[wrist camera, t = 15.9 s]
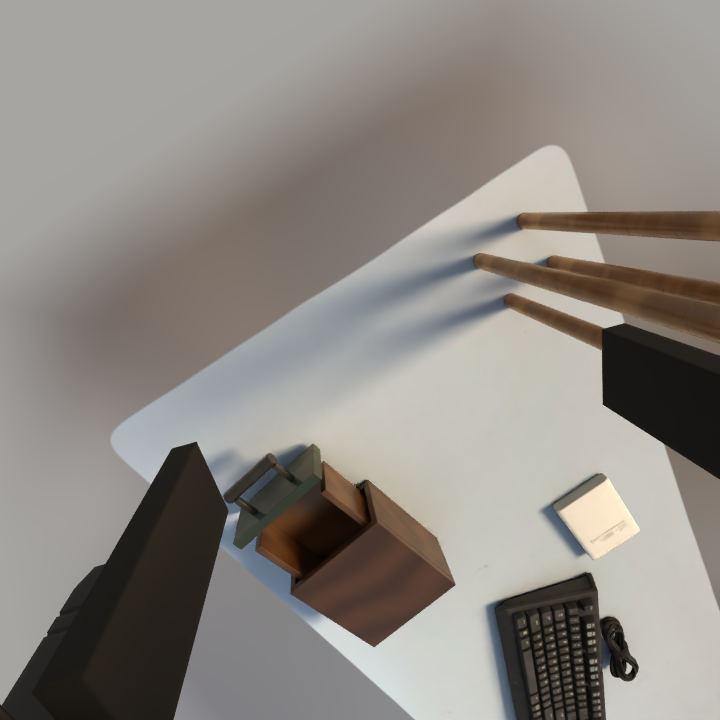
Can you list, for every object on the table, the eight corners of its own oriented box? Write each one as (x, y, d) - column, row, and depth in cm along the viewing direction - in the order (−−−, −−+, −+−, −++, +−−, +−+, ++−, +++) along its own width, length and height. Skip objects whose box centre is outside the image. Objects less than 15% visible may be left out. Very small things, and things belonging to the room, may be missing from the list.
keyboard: (491, 600, 61) (506, 629, 57) (625, 558, 62) (650, 584, 57) (517, 732, 74) (531, 764, 70) (627, 696, 75) (647, 726, 71)
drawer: (213, 488, 47) (201, 524, 42) (286, 421, 45) (284, 449, 40) (318, 561, 53) (320, 601, 48) (387, 505, 51) (396, 539, 46)
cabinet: (292, 543, 53) (290, 594, 46) (367, 479, 51) (377, 522, 44) (365, 594, 57) (374, 647, 50) (437, 537, 56) (456, 585, 48)
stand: (467, 260, 43) (843, 366, 13) (526, 206, 41) (1091, 184, 12) (508, 312, 45) (898, 501, 15) (565, 263, 44) (1105, 364, 14)
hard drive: (600, 471, 55) (633, 523, 59) (550, 504, 56) (586, 553, 60) (608, 478, 54) (642, 531, 58) (557, 512, 55) (593, 562, 59)
